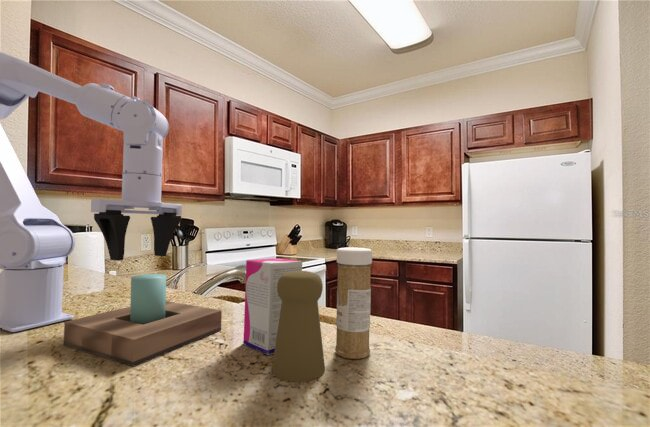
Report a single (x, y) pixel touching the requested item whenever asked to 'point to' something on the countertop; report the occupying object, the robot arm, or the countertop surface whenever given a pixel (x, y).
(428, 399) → the countertop surface
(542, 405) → the countertop surface
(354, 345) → the sprinkles bottle
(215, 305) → the countertop surface
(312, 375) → the brown tall rounded piece
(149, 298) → the peg
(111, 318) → the socket block
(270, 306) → the supplement box
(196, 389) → the countertop surface
